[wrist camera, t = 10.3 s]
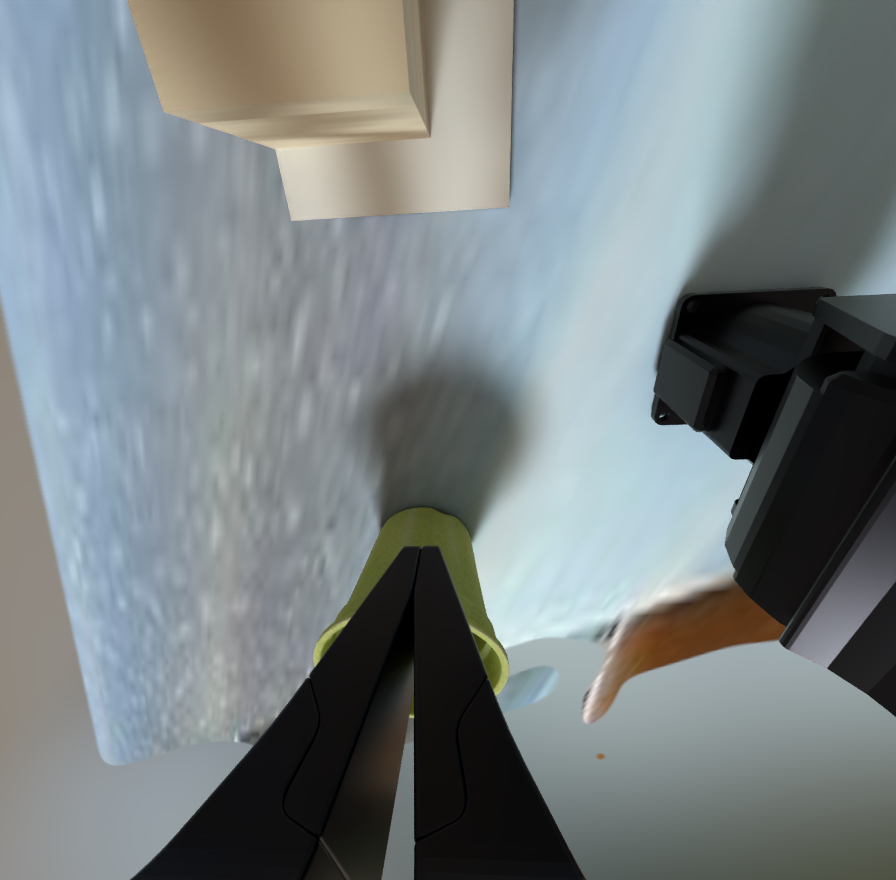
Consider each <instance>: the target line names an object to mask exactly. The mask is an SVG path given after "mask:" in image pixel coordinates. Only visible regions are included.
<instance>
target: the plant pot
mask: <svg viewBox="0 0 896 880" xmlns="http://www.w3.org/2000/svg"><path fill="white" fill-rule="evenodd" d="M405 546H420V547H421V548H422V547H423V546H439V547H440V549H441V551H442V554H443V557H444V559H445V562H446V565H447V567H448V570H449V573H450V575H451V578H452V581H453V584H454V586H455V589H456V592H457V594H458V597H459V600H460V602H461V605H462V608H463V610H464V613H465V616H466V618H467V621H468V624H469V626H470V629H471V632H472V635H473V637H474V640H475V643H476V645H477V648H478V651H479V653H480V656H481V659H482V661H483V664H484V667H485V669H486V672H487V675H488V680H490V682H491V685H492V688H493V690H494V693H495V696H496V695H497V694H499V693H500V691H501V690H502V689H503V687H504V686H505V684H506V682H507V679H508V675H509V663H508V657H507V654H506V652H505V650H504V648H503V646H502V645H501V643H500V642H499V641H498V639H497V638H496V636H495V632H494V629H493V626H492V623H491V622H490V620H489V619H488V617H487V614H486V609H485V605H484V601H483V596H482V592H481V587H480V583H479V578H478V574H477V569H476V564H475V558H474V553H473V549H472V544H471V539H470V535H469V532H468V530H467V529H466V527H465V526H464V524H463V523H462V522H461V521H460V520H459V519H457V518H456V517H454V516H451V515H446V514H443V513H440V512H438V511H436V510H434V509H433V508H428V507H417V508H411V509H406V510H403V511H401V512H398V513H397V514H395V515H393V516H392V517H391V518H389V519H388V520H387V522H386V523H385V525H384V526H383V528H382V529H381V531H380V533H379V535H378V538H377V540H376V542H375V544H374V546H373V549H372V551H371V553H370V555H369V558H368V560H367V562H366V564H365V567H364V569H363V571H362V573H361V575H360V578H359V580H358V582H357V584H356V586H355V589H354V591H353V593H352V595H351V597H350V599H349V601H348V603H347V605H345V606H344V608H343V609H342V610H341V611H340V613H339V614H338V616H337V618H336V620H335V622H334V623H332V624H331V625H330V626H329V627H328V628H327V629H326V630H325V631H324V632H323V633H322V635H321V636H320V638H319V640H318V642H317V644H316V646H315V649H314V654H313V660H314V666H316V665H317V664H318V662H319V661H320V659H321V658H322V657H323V655H324V654H325V653H326V651H327V650H328V649H329V647H330V646H331V644H332V643H333V642H334V640H335V639H336V638H337V636H338V635H339V634H340V632H341V631H342V629H343V628H344V627H345V625H346V624H347V623H348V621H349V620H350V619H351V617H352V616H353V615H354V613H355V612H356V610H357V609H358V608H359V606H360V605H361V604H362V602H363V601H364V600H365V598H366V597H367V595H368V594H369V593H370V591H371V590H372V589H373V587H374V586H375V585H376V583H377V582H378V580H379V579H380V578H381V576H382V575H383V574H384V572H385V571H386V570H387V568H388V567H389V566H390V564H391V563H392V561H393V560H394V559H395V557H396V556H397V555H398V553H399V552H400V551H401V549H402V548H403V547H405ZM409 718H414V691H413V697H412V703H411V708H410V714H409Z"/></svg>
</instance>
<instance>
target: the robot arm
mask: <svg viewBox="0 0 896 880" xmlns="http://www.w3.org/2000/svg"><path fill="white" fill-rule="evenodd" d="M821 296H822V297H821ZM819 297H820V298H819ZM818 298H819V299H818ZM817 300H818V302H817ZM691 301H694V306H693V308H692V309H690V310H688V311H687V306H688V304H689V303H690V302H691ZM816 302H817V304H816ZM654 392H655V393H656V396H655V400H654V404H653V408H652V413H651V417H652V419H653V420H654V421H655V422H656V423H657V424H659V425H683V424H688V425H689V426H690V427H691V428H692V429H693V430H694V431H696V432H703V433H704V434H705V435H706V436H707V437H708V438H709V439H711V440H712V441H713V442H714V443H715V444H716V445H717V446H718V447H719V448H720V449H721V450H722V451H724V452H725V453H726V454H727V455H728V456H729V457H730V458H731V459H735V460H738V459H747V460H748V461H749V462H750V463H751V464H752V465H753V467H752V469H751V471H750V474H749V476H748V479H747V481H746V483H745V486H744V488H743V490H742V493H741V495H740V498H739V499H737V500H735V502H734V504H733V507H732V509H731V513H732V518H731V521H730V523H729V526H728V528H727V533H726V540H725V547H726V549H727V552H728V555H729V557H730V560H731V562H732V565H733V567H734V568H735V572H734V574H733V577H734V580H735V581H736V582H737V583H738V584H739V586H740V587H741V588H742V589H743V590H744V592H745V593H746V594H747V595H748V596H749V597H750V598H751V599H752V600H753V601H754V602H755V603H757V604H758V605H759V606H760V607H761V608H762V609H763V610H765V611H766V612H767V613H768V614H769V615H770V616H772V617H773V618H774V619H775V620H777V621H778V622H780V623H781V624H783V625H784V626H786V629H785V630H784V632H783V633H782V635H781V636H780V638H779V642H780V643H781V644H782V645H783V647H785V648H786V649H788V650H790V651H792V652H794V653H796V654H798V655H801V656H803V657H804V658H807V659H809V660H811V661H813V662H815V663H817V664H819V665H821V666H823V667H825V668H827V669H829V670H830V671H832V672H834V673H835V674H836V675H838V676H840V677H841V678H843V679H844V680H846V681H847V682H849V683H851V684H852V685H854V686H855V687H857V688H858V689H860V690H861V691H863V692H864V693H866V694H867V695H869V696H870V697H871V698H873V699H874V700H875V701H876V702H878V703H879V704H880V705H881V706H883V707H884V708H885V709H887V710H888V711H889V712H890V713H892V714H893V715H894V716H896V294H881V295H859V296H837V297H836V293H835V291H834V290H833V289H829V288H824V287H810V288H789V289H769V290H748V291H727V292H707V293H690V294H686V295H685V296H683V297H682V298H681V299H680V300H679V302H678V304H677V308H676V312H675V316H674V320H673V324H672V329H671V333H670V337H669V340H668V341H667V342H666V343H665V344H664V347H663V351H662V356H661V360H660V364H659V369H658V373H657V377H656V381H655V386H654ZM664 412H666V414H665V416H663V417H659V416H660V415H661V414H662V413H664ZM309 677H310V678H306V679H305V681H304V682H303V684H302V685H301V686H300V688H299V689H298V691H297V692H296V693H295V695H294V696H293V697H292V699H291V700H290V701H289V702H288V704H287V705H286V706H285V708H284V709H283V710H282V712H281V713H280V714H279V715H278V717H277V718H276V719H275V721H274V722H273V723H272V725H271V726H270V727H269V728H268V729H267V730H266V732H265V733H264V734H263V735H262V736H261V738H260V739H259V740H258V741H257V742H256V743H255V745H254V746H253V747H252V748H251V750H250V751H249V752H248V753H247V754H246V755H245V756H244V758H243V759H242V760H241V761H240V762H239V763H238V764H237V766H236V767H235V768H234V769H233V770H232V771H231V772H230V774H229V775H228V776H227V777H226V778H225V779H224V781H223V782H222V783H221V784H220V785H219V786H218V787H217V788H216V790H215V791H214V792H213V793H212V794H211V795H210V797H209V798H208V799H207V800H206V801H205V802H204V803H203V804H202V806H201V807H200V808H199V809H198V810H197V811H196V812H195V814H194V815H193V816H192V817H191V818H190V819H189V821H188V822H187V823H186V824H185V825H184V826H183V827H182V828H181V830H180V831H179V832H178V833H177V834H176V835H175V836H174V837H173V839H172V840H171V841H170V842H169V843H168V844H167V845H166V846H165V847H164V848H163V849H162V850H161V851H160V852H159V853H158V854H157V855H156V856H155V857H154V859H152V860H151V861H150V862H149V863H148V864H147V865H146V866H145V867H144V868H143V869H142V870H140V871H139V872H138V873H137V874H136V875H135V876H134V877H133V878H131V879H130V880H381V879H382V873H383V867H384V860H385V855H386V849H387V843H388V838H389V832H390V825H391V820H392V814H393V808H394V802H395V796H396V791H397V785H398V779H399V772H400V767H401V761H402V755H403V750H404V744H405V738H406V732H407V726H408V720H409V714H410V708H411V703H412V697H413V691H414V839H415V843H416V844H415V847H414V880H586V879H585V877H584V875H583V873H582V872H581V870H580V868H579V866H578V865H577V863H576V861H575V859H574V857H573V855H572V853H571V851H570V850H569V848H568V846H567V844H566V842H565V840H564V838H563V836H562V834H561V832H560V830H559V829H558V826H557V824H556V822H555V820H554V818H553V816H552V815H551V813H550V811H549V809H548V807H547V805H546V803H545V801H544V799H543V797H542V795H541V793H540V791H539V789H538V787H537V785H536V783H535V781H534V780H533V777H532V775H531V774H530V772H529V770H528V768H527V766H526V764H525V762H524V760H523V758H522V755H521V753H520V751H519V749H518V747H517V745H516V743H515V741H514V739H513V736H512V734H511V732H510V730H509V728H508V725H507V723H506V721H505V718H504V716H503V713H502V711H501V708H500V706H499V703H498V701H497V698H496V696H495V693H494V690H493V688H492V685H491V682H490V680H488V675H487V672H486V669H485V667H484V664H483V661H482V659H481V656H480V653H479V651H478V648H477V645H476V643H475V640H474V637H473V635H472V632H471V629H470V626H469V624H468V621H467V618H466V616H465V613H464V610H463V608H462V605H461V602H460V600H459V597H458V594H457V592H456V589H455V586H454V584H453V581H452V578H451V575H450V573H449V570H448V567H447V565H446V562H445V559H444V557H443V554H442V551H441V549H440V547H439V546H423V547H422V548H421V547H420V546H405V547H403V548H402V549H401V551H400V552H399V553H398V555H397V556H396V557H395V559H394V560H393V561H392V563H391V564H390V566H389V567H388V568H387V570H386V571H385V572H384V574H383V575H382V576H381V578H380V579H379V580H378V582H377V583H376V585H375V586H374V587H373V589H372V590H371V591H370V593H369V594H368V595H367V597H366V598H365V600H364V601H363V602H362V604H361V605H360V606H359V608H358V609H357V610H356V612H355V613H354V615H353V616H352V617H351V619H350V620H349V621H348V623H347V624H346V625H345V627H344V628H343V629H342V631H341V632H340V634H339V635H338V636H337V638H336V639H335V640H334V642H333V643H332V644H331V646H330V647H329V649H328V650H327V651H326V653H325V654H324V655H323V657H322V658H321V659H320V661H319V662H318V664H317V665H316V666H315V668H314V669H313V670H312V672H311V673H310V675H309Z"/></svg>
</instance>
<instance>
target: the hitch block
mask: <svg viewBox="0 0 896 880" xmlns="http://www.w3.org/2000/svg"><path fill="white" fill-rule="evenodd" d="M127 2H128V5H129V8H130V11H131V14H132V17H133V20H134V23H135V26H136V29H137V32H138V35H139V38H140V41H141V44H142V47H143V50H144V53H145V56H146V59H147V62H148V65H149V68H150V71H151V74H152V78H153V81H154V84H155V87H156V90H157V93H158V96H159V99H160V102H161V105H162V108H163V111H164V112H166V113H169V114H172V115H175V116H178V117H181V118H184V119H187V120H190V121H193V122H196V123H199V124H202V125H205V126H208V127H211V128H214V129H217V130H220V131H223V132H225V133H228V134H231V135H234V136H237V137H240V138H243V139H246V140H249V141H252V142H255V143H258V144H261V145H264V146H267V147H270V148H273V149H276V154H277V158H278V163H279V167H280V172H281V176H282V180H283V185H284V189H285V194H286V198H287V203H288V207H289V211H290V216H291V220H292V221H299V220H315V219H331V218H347V217H363V216H379V215H395V214H411V213H427V212H442V211H458V210H474V209H490V208H506V207H509V191H510V147H511V103H512V60H513V16H514V0H127Z"/></svg>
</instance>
